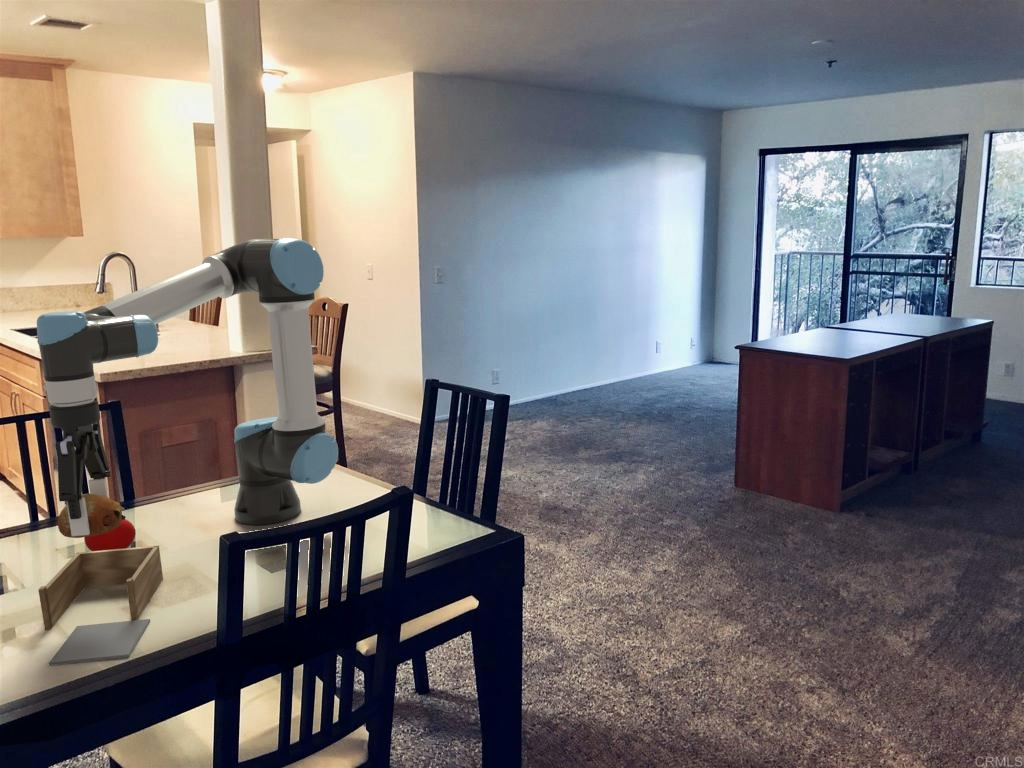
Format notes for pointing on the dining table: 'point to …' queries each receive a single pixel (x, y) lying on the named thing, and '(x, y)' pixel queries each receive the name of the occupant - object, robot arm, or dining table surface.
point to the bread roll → (95, 516)
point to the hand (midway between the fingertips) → (91, 523)
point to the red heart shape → (112, 538)
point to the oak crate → (103, 579)
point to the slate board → (100, 642)
